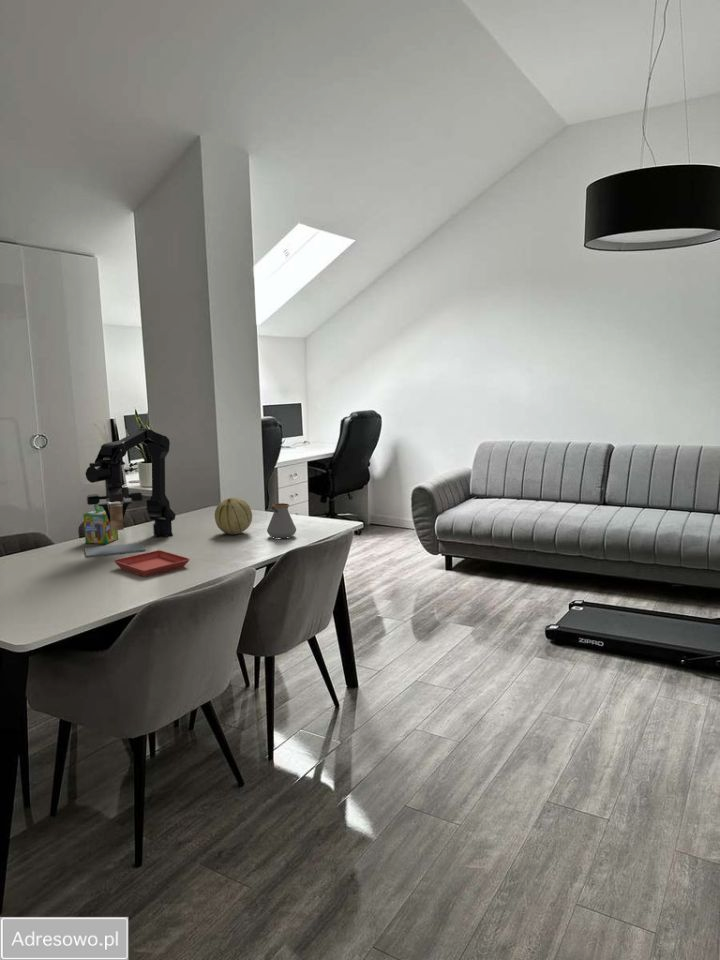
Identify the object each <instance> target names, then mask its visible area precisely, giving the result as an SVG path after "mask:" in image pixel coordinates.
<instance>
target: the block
mask: <svg viewBox="0 0 720 960" xmlns="http://www.w3.org/2000/svg"><path fill="white" fill-rule="evenodd" d="M107 504H108V509H109V514H110V528H111V530H112V531H114V530H118V531H123V530H125V529H124V519H123V512H122V502H119V501H118V502H108V501H107Z"/></svg>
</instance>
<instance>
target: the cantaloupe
mask: <svg viewBox="0 0 720 960" xmlns="http://www.w3.org/2000/svg"><path fill="white" fill-rule="evenodd" d="M214 520H215V521H214V522H215V524H216V526H217V528H218V529H219V530H220V531H221V532H222V533H225V534H228V535H239V534H241V533H244V532H245V531H246V530H248V529H249V527H250V525H251V523H252V521H253V513H252V508H251V507H250V505H249V503H248V502H246V500H243V499H242V498H239V497H229V498H226V499H224V500H222V501H221V502H220V503H219V504H218V505H217V506H216V508H215V511H214Z"/></svg>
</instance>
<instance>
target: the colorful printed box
mask: <svg viewBox="0 0 720 960" xmlns="http://www.w3.org/2000/svg"><path fill="white" fill-rule="evenodd" d="M93 507H94V510H91V511H88V512H86V513H83V523H84V524H83V525H84V527H83V528H84V537H85V544H86V543H94V544H97V545H98V544H100V545H102V544H104V545H107V544H110V543H112V542H115V541H117V540H119V530H114V531H112V530H111V528H110V522H109V520H108V517H107V515H106V512H105V510H104V509H103V507H102V506H99V505H98V504H93ZM98 507H99V508H100V509H98Z"/></svg>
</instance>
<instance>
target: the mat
mask: <svg viewBox="0 0 720 960" xmlns="http://www.w3.org/2000/svg"><path fill="white" fill-rule="evenodd" d="M83 549H85V550H84V552H85V555H86V558H91V557H93V556H94V557H100V556H101V557H102V556H103V555H104V556H112V555H120V553H122V554H128V553H129V552H132V553H137V552H138V553H140V552H146V547H145V546H144V544H143V543H142V542H131V543H119V544H112V545H111V544H110V545H99V546H92V547H91V546H90V547H84V548H83ZM129 554H130V553H129ZM104 556H103V557H104Z"/></svg>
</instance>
